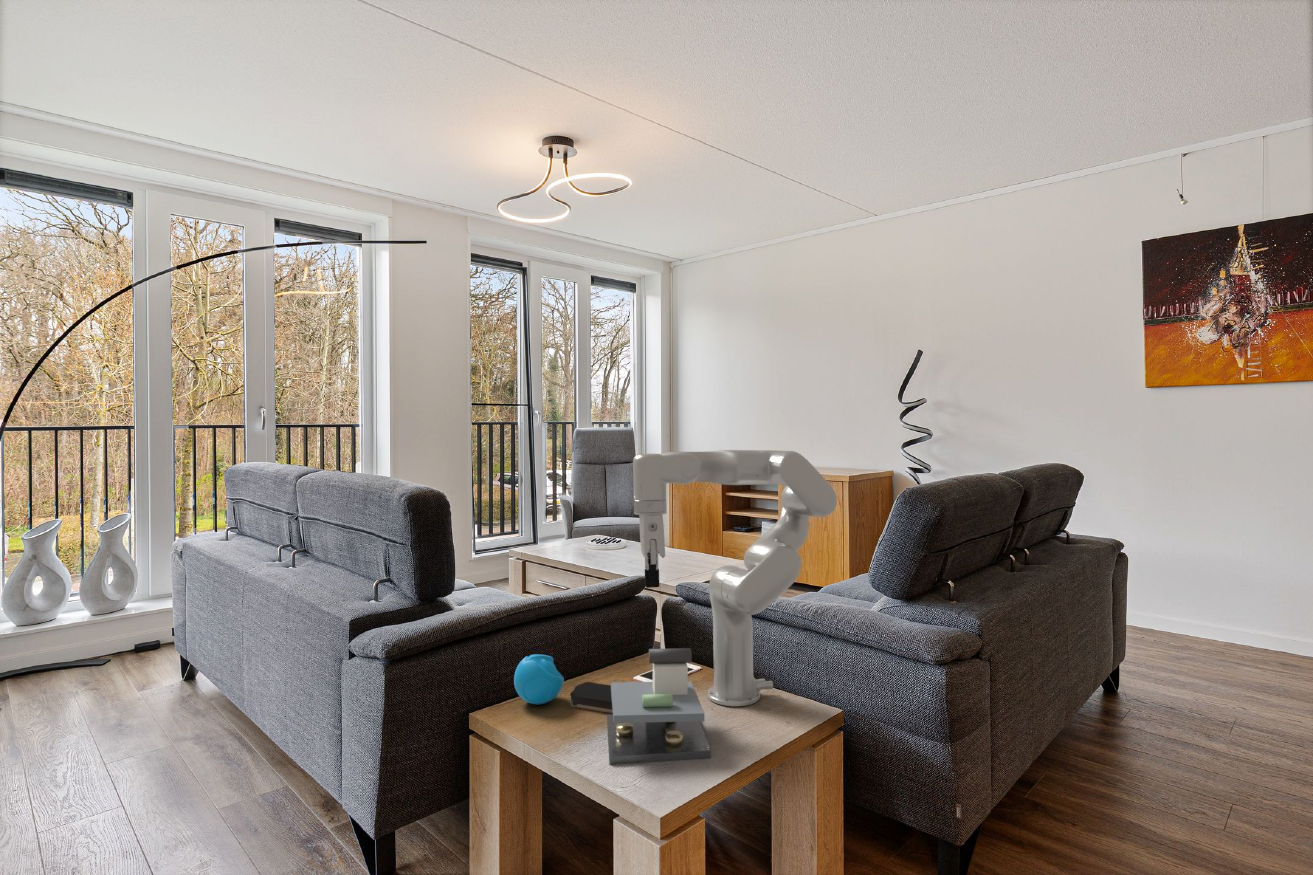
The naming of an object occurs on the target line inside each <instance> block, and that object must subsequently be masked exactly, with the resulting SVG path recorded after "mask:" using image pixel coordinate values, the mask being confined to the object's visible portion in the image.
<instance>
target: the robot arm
mask: <svg viewBox="0 0 1313 875" xmlns="http://www.w3.org/2000/svg"><path fill="white" fill-rule="evenodd" d="M632 462H633V463H632V470H633V471H632V474H633V476H632V477H633V478H632V480H633V514H634V515H637V516H638V518H639V519H638V520H639V540H640V542H639V543H640V550H641V554H642V556H643V558H644V565H645V566H644V568H645V569H644V586H645V588H646V589H648V588H649V589H651V588H659V587H660V569H659V556H660V557H661V558H662V559H664V558H665V557H666V548H665V546H666V544H665V543H666V542H665V541H666V540H665V527H664V526H665V525H664V517H663V515H666V514H667V513H668V511H667V484H676V485H689V484H692V483H694V482H697V483H698V482H699V483H710V484H711V483H712V484H717V485H718V484H719V485H727V486H741V485H742V486H745V485H746V486H747V485H749V486H750V485H751V486H752V485H758V486H759V485H779V486H784V488H783V490H782V491H781V492H782V493H781V496H780V503H781V504H780V508H781V509H780V514H779V517H778V519H777V521H776V522H775V524H773V525H772V527H770V528H769V529H768V530H767V531H765V533H764V534H762V536H760V537H759V538H758V539H757V540H755V542H753V543H752V544H751V545H750V546H749V547H748V548H747V549H746V550H745V553H744V555H743V564H744V566H745V568H746V569H744V568H742V567H738V566H736V565H735V566H734V565H722V566H721V567H719V568H717V569H716V570H715V571H713V574H712V575H711V577H710V579H709V584H708V590H709V591H708V592H709V599H710V604H711V611H712V628H713V629H712V630H713V631H712V634H713V636H712V637H713V638H712V640H713V644H712V647H713V686H711V687H710V688H709V689H708V690H707V697H708V699H709V700H710V701H711V702H713V703H715V704H718V705H721V706H727V707H745V706H750V705H753V704H755V703H757V702H758V701H760V699H761V690H767V691H768V690H774V682H773V680H766V679H765V678H759V679H757V678H756V677H755V676H754V641H753V638H754V637H753V634H754V633H753V632H754V631H753V630H754V628H753V627H754V626H753V618H752V615H758V614H759V613H761V612H763V611H765V610H766V609H767V608H768V607H769V606H771V604H772V603H774V602H775V601H776V600H777V599H778V598H779V597H780V596H781V595H782V594H783V593H785V592H786V590H788V589H789V588H790V587H791V586H792V585H793V584H794V583H795V582H796V580H797V579H798V577H799V575H800V573H801V570H802V566H803V562H802V557H801V554H800V552H799V550H800V549H801V548H802V547H803V545H804V544H805V543H806V541H807V538H808V536H809V531H810V517H814V518H826V517H828V516H830V515H832V514H833V513H834V511H835V509H836V508H837V504H838V496H837V493H836V490H835V489H834V487H833V486H832V485H831V483H830V482H829V481H828V480H826V478H825V477H824V476H823V474H821V472H820V471H818V469H816V467H815V466H814V465H813V464H812V463H811V461H809V460H808V459H807V458H806V457H804V456H803V455H802V454H801V453H799V452H797V451H794V450H777V449H776V450H773V449H770V450H769V449H767V450H766V449H764V450H763V449H762V450H761V449H760V450H759V449H756V450H755V449H751V450H750V449H747V450H746V449H728V450H727V449H725V450H714V451H713V450H709V451H672V450H671V451H666V452H663V453H639V454H635V456H634V457H633V460H632Z"/></svg>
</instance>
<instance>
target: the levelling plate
mask: <svg viewBox="0 0 1313 875" xmlns="http://www.w3.org/2000/svg"><path fill="white" fill-rule="evenodd" d="M692 658H693V654H692V648H691V647H690V648H689V647H686V648H649V649H648V664H652V670H653V682H638V681H626V682H624V681H623V682H622V681H619V682H618V681H617V682H615V681H614V682H610V685H611V697H612V710H613V713H612V714H613V722H614V723H645V722H683V721H700V722H705V711H704V709H703V706H702V704H701V701H700V699H699V697H698V695H697V692H696V690H695V688H694V684H693V682H692V680H689V679H688V676H689V675H688V666H687V663H689V664H692V662H693V659H692Z"/></svg>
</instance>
